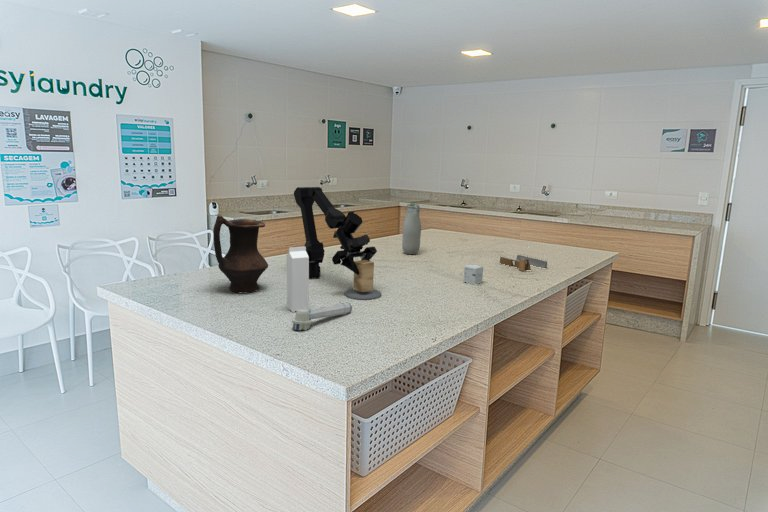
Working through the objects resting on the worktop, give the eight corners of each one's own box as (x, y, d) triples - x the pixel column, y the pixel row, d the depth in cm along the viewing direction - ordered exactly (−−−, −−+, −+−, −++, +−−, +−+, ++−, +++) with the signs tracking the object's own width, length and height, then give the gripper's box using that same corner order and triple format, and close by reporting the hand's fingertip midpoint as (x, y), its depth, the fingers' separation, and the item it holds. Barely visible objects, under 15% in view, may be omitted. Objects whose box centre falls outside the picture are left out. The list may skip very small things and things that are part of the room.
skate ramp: (561, 270, 255) (562, 256, 253) (511, 278, 236) (513, 262, 234) (516, 259, 278) (517, 246, 277) (468, 265, 260) (469, 251, 258)
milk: (308, 310, 177) (309, 248, 173) (292, 312, 174) (292, 249, 170) (302, 305, 182) (303, 244, 178) (286, 307, 179) (286, 245, 175)
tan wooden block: (353, 289, 198) (354, 261, 196) (364, 287, 202) (364, 259, 200) (362, 292, 194) (363, 263, 192) (373, 290, 198) (373, 262, 196)
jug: (253, 281, 214) (251, 209, 208) (277, 290, 201) (276, 214, 195) (204, 289, 199) (201, 212, 193) (227, 299, 186) (225, 218, 180)
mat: (349, 300, 190) (349, 298, 190) (341, 291, 203) (341, 289, 203) (385, 298, 194) (385, 296, 194) (375, 289, 207) (375, 287, 207)
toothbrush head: (354, 303, 174) (302, 309, 154) (352, 322, 175) (300, 331, 155) (342, 300, 177) (290, 306, 157) (340, 319, 178) (287, 327, 158)
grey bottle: (400, 255, 278) (402, 203, 273) (403, 251, 288) (405, 202, 282) (418, 256, 277) (421, 204, 271) (420, 252, 286) (423, 202, 281)
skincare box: (463, 282, 223) (464, 266, 221) (470, 280, 227) (471, 264, 226) (474, 285, 219) (476, 268, 217) (482, 283, 223) (483, 266, 222)
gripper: (337, 229, 191) (355, 264, 185) (374, 226, 203) (392, 258, 197) (324, 247, 198) (341, 280, 192) (361, 242, 210) (378, 274, 205)
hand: (364, 273), depth 196 cm, fingers closed on tan wooden block, 5 cm apart
